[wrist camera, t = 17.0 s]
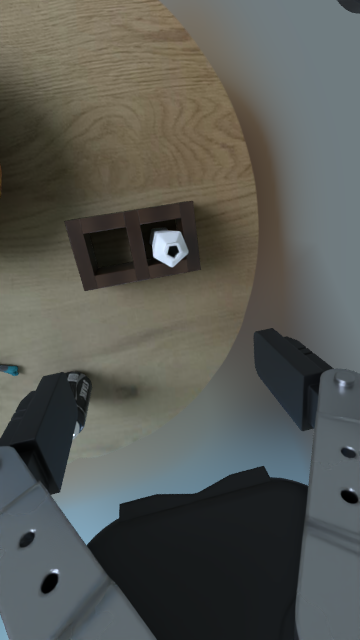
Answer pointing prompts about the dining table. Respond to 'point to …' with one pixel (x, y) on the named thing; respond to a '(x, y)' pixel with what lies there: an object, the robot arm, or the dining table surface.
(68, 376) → the beverage can
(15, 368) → the knife
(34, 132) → the dining table surface
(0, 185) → the bowl
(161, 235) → the perfume bottle
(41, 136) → the dining table surface
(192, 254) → the holder
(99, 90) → the dining table surface
